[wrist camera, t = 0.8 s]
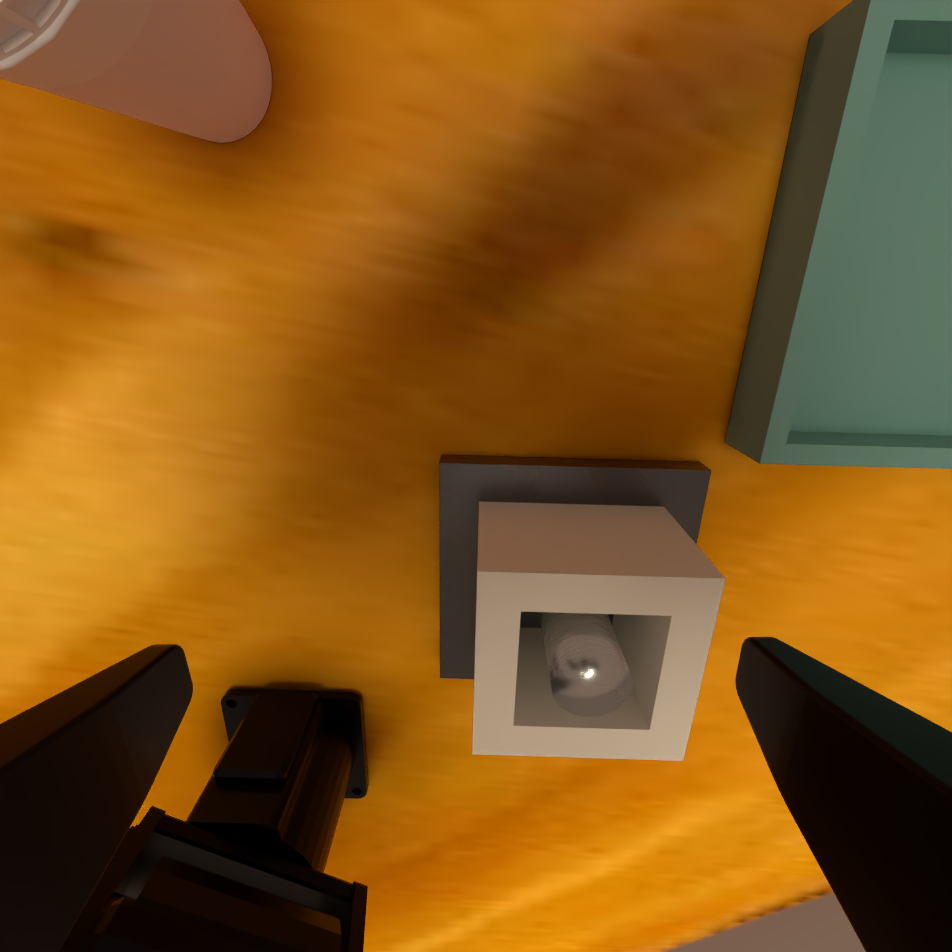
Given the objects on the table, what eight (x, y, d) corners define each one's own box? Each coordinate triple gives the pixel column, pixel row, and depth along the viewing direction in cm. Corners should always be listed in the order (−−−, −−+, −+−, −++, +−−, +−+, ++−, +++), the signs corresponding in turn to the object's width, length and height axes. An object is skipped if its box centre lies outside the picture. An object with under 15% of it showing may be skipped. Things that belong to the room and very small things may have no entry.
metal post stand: (659, 668, 22) (726, 808, 16) (441, 661, 22) (426, 799, 16) (700, 461, 19) (804, 541, 13) (441, 454, 19) (421, 530, 13)
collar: (638, 656, 21) (682, 760, 16) (475, 651, 21) (472, 754, 16) (663, 506, 18) (725, 578, 14) (479, 501, 18) (477, 571, 14)
